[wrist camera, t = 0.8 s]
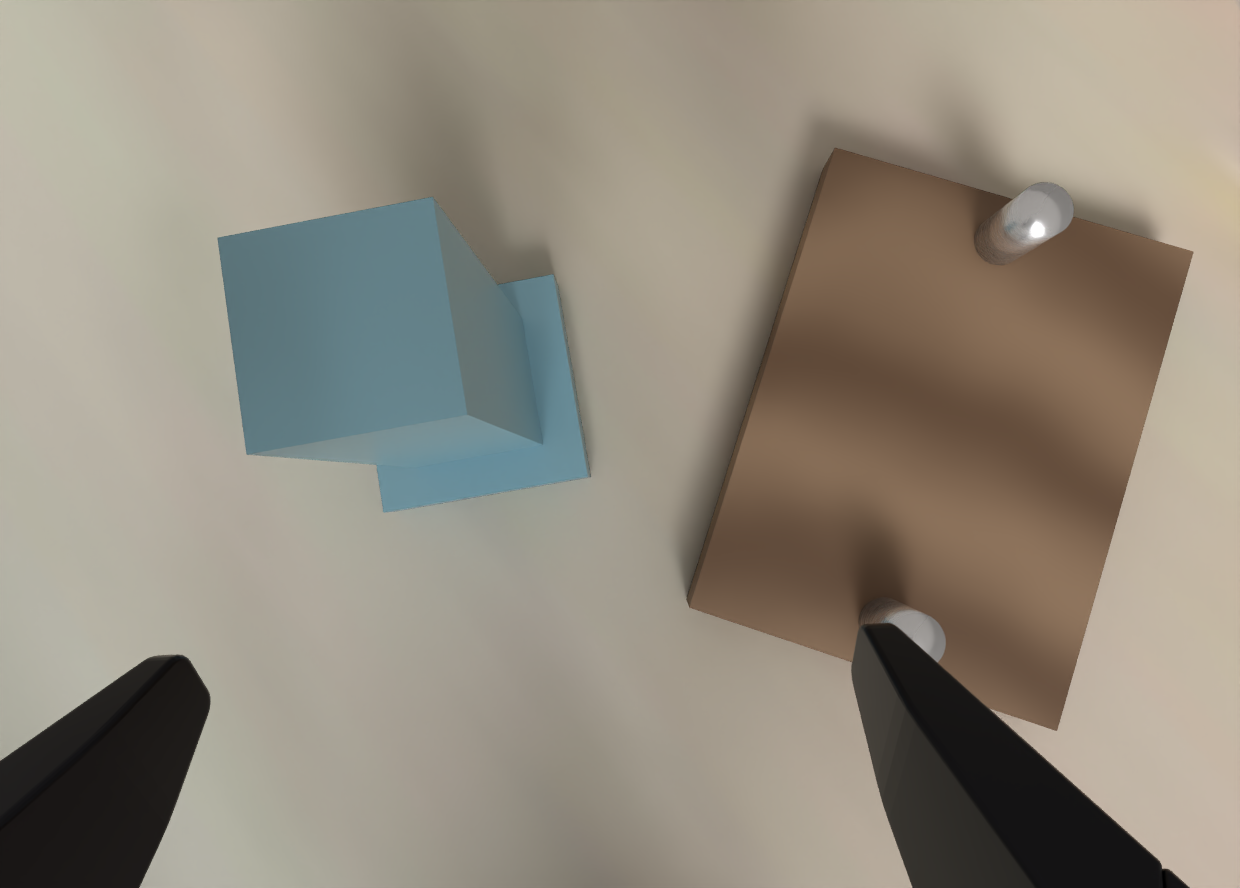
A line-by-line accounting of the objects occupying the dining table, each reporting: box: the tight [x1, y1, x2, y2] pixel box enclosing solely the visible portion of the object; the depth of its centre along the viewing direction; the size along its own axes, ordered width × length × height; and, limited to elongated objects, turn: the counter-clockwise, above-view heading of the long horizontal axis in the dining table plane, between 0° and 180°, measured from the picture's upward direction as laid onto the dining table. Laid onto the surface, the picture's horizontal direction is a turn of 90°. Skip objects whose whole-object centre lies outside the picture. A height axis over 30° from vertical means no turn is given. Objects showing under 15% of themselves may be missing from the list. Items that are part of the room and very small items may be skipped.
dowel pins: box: [858, 182, 1074, 662], centre depth 20 cm, size 15×2×2 cm, turn 162°
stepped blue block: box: [218, 197, 591, 512], centre depth 18 cm, size 7×7×10 cm
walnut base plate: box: [687, 148, 1193, 731], centre depth 22 cm, size 16×12×2 cm
